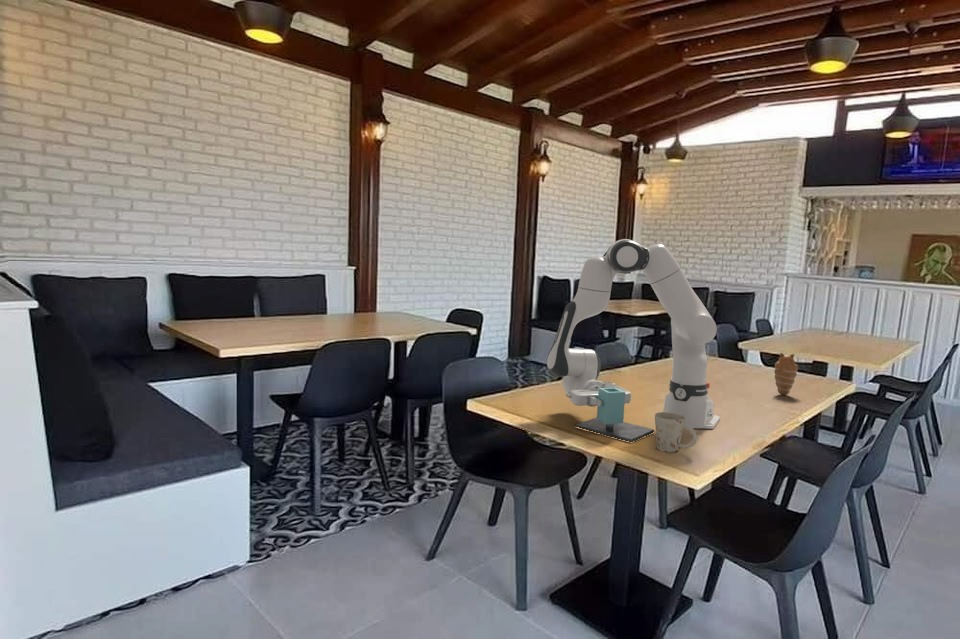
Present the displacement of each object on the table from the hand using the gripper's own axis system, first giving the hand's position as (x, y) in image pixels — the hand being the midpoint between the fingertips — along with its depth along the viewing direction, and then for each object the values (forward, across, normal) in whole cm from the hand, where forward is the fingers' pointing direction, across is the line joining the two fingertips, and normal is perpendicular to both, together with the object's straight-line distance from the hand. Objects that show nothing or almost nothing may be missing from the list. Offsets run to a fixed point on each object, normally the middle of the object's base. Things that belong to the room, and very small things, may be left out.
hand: (612, 403), depth 183 cm
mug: (+19, +10, +10) cm, 24 cm away
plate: (-2, +3, +10) cm, 10 cm away
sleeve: (-1, 0, +6) cm, 6 cm away
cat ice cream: (-33, +102, +10) cm, 107 cm away
